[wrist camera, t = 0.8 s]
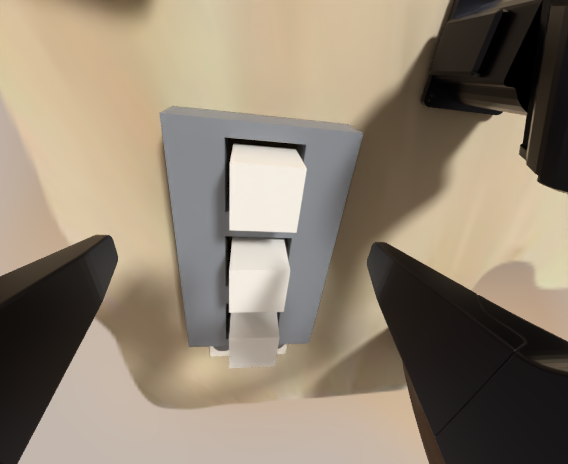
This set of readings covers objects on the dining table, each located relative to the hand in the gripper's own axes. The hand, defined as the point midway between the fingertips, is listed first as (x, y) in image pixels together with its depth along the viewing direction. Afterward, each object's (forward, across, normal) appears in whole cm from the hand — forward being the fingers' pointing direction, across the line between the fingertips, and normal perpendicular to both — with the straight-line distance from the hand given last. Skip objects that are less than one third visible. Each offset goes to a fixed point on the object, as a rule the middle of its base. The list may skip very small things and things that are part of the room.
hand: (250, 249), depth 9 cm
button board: (+12, -1, +8) cm, 14 cm away
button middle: (+10, -1, +8) cm, 12 cm away
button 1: (+10, -1, +15) cm, 18 cm away
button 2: (+10, -1, +1) cm, 10 cm away
